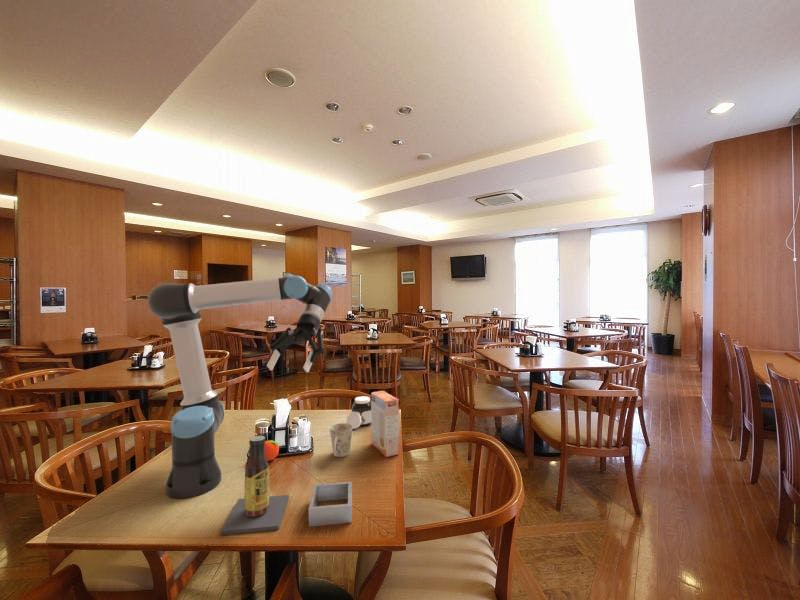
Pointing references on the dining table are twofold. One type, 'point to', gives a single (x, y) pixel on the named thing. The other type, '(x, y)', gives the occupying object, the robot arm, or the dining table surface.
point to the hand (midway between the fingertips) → (287, 369)
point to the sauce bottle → (256, 479)
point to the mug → (341, 439)
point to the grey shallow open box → (330, 512)
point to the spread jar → (360, 413)
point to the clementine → (271, 449)
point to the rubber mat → (264, 522)
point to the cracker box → (385, 423)
